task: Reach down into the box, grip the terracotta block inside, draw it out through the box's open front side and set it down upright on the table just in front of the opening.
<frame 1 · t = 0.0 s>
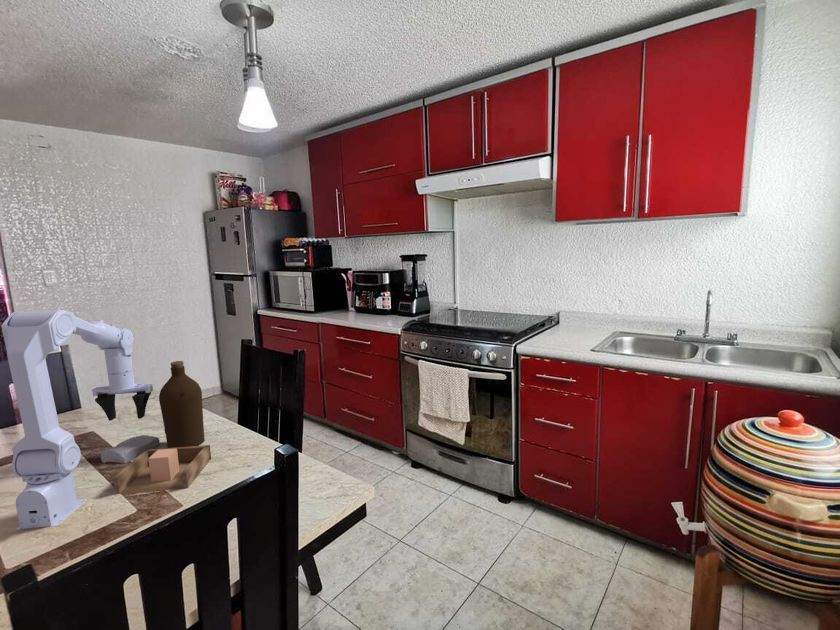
hand: (127, 418, 115), 10 cm above the table, tool pointing down, fingers open, 7 cm apart
box: (167, 477, 103), on the table
block: (165, 476, 102), point 1 cm above the table, touching box
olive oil: (186, 445, 120), on the table
stone block: (130, 455, 116), on the table
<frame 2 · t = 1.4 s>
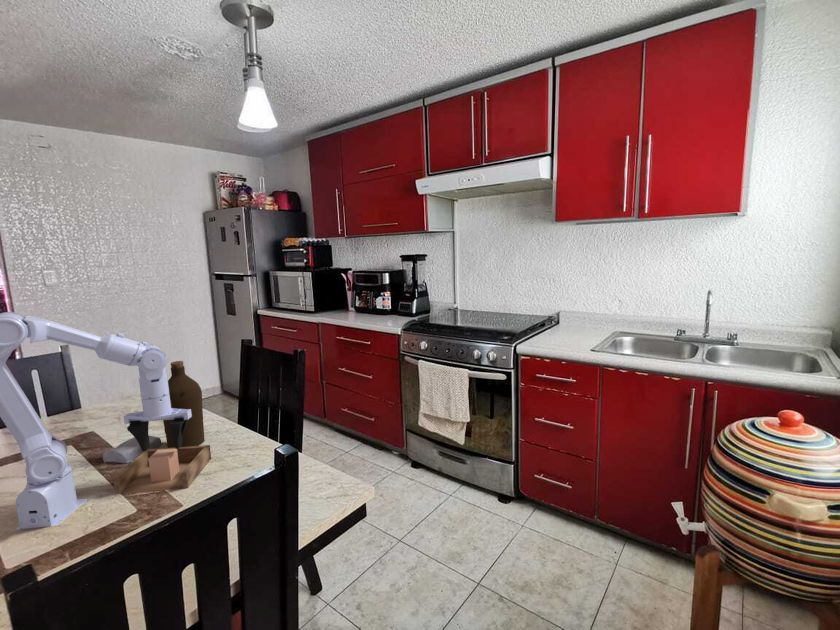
hand: (162, 448, 101), 8 cm above the table, tool pointing down, fingers open, 7 cm apart
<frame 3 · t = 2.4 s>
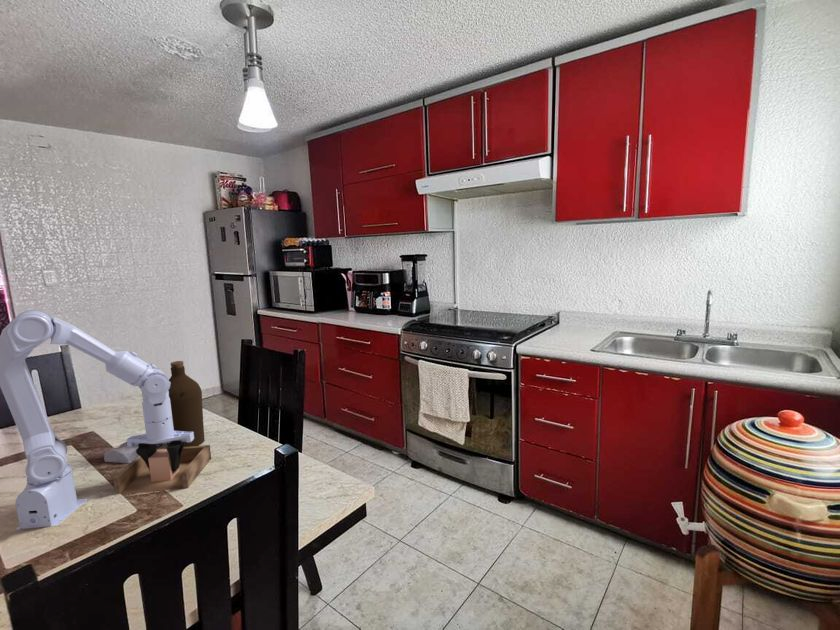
hand: (165, 470, 102), 2 cm above the table, tool pointing down, fingers closed on block, 4 cm apart
block: (165, 476, 102), point 1 cm above the table, touching box, gripper
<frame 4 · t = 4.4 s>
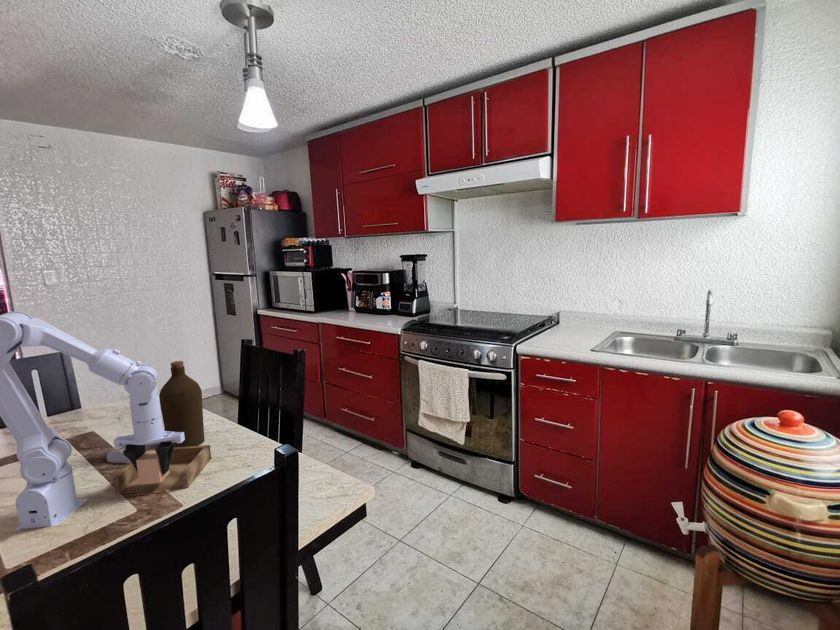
hand: (154, 472, 97), 4 cm above the table, tool pointing down, fingers closed on block, 4 cm apart
block: (155, 478, 97), point 3 cm above the table, touching gripper
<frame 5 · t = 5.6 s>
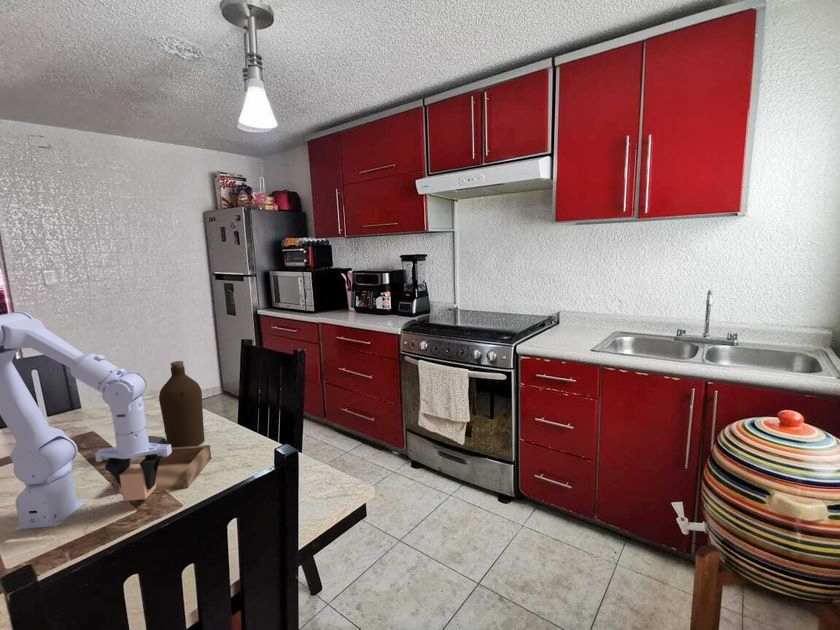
hand: (139, 487, 91), 4 cm above the table, tool pointing down, fingers closed on block, 4 cm apart
block: (140, 494, 91), point 3 cm above the table, touching gripper
when the fingers open (3 cm above the table, at t = 6.4 s): block drops 1 cm, on the table.
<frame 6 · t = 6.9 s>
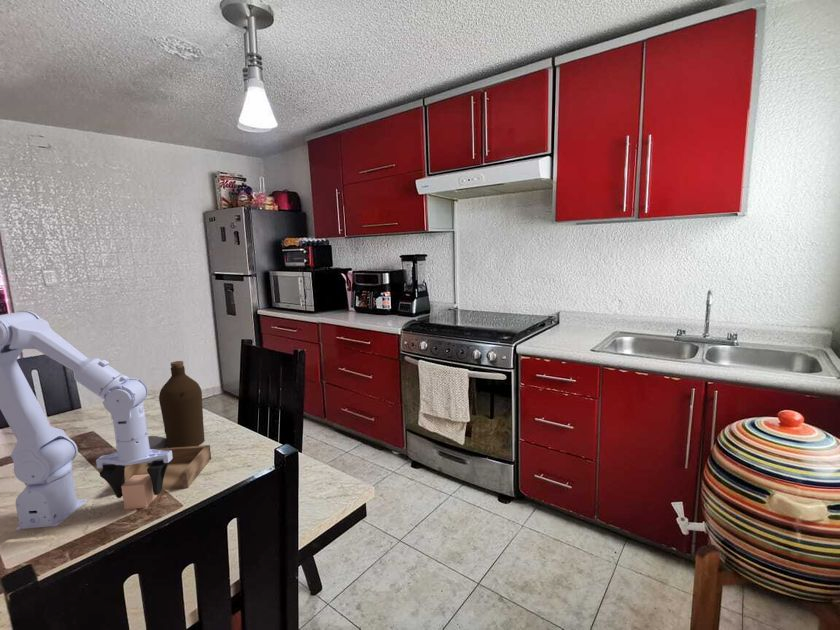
hand: (139, 494, 91), 3 cm above the table, tool pointing down, fingers open, 7 cm apart
block: (141, 504, 91), on the table
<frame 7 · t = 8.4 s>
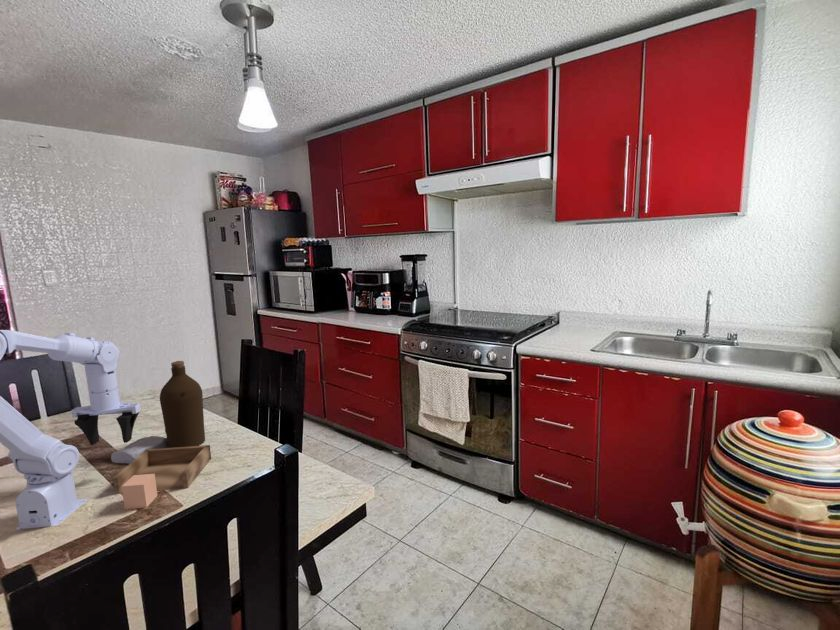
hand: (111, 442, 102), 9 cm above the table, tool pointing down, fingers open, 7 cm apart
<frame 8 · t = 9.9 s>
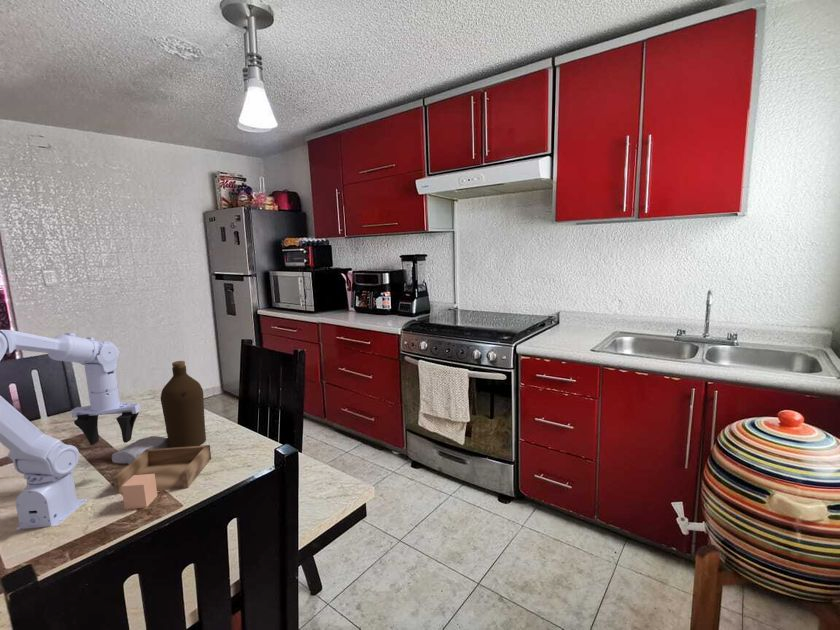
hand: (111, 442, 102), 9 cm above the table, tool pointing down, fingers open, 7 cm apart
at the end: block inside the target area (1.1 cm from its centre), on the table; block tilted 0°; the gripper is holding nothing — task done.
